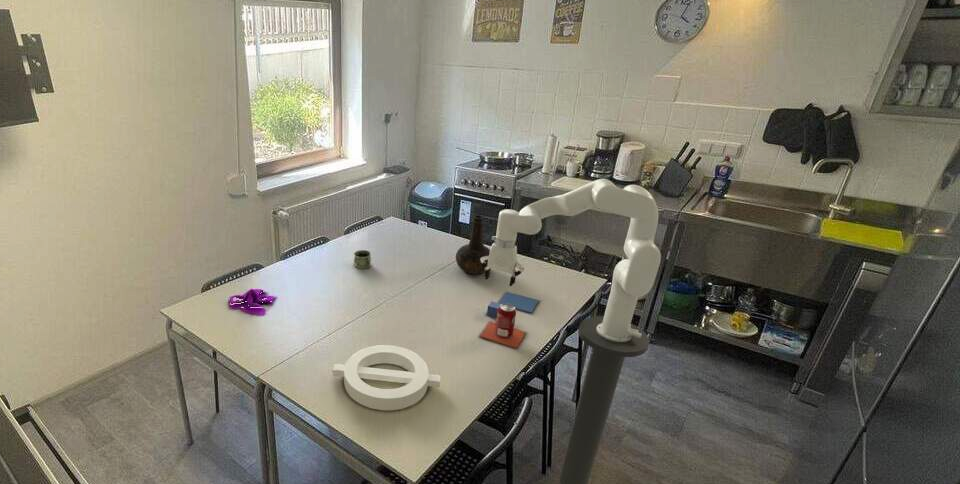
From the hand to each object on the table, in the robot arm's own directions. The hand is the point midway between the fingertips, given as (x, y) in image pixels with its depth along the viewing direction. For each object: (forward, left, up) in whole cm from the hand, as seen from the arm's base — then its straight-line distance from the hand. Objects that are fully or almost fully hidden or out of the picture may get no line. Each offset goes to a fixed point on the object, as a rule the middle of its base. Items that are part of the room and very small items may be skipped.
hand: (499, 281), depth 194 cm
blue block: (+1, -2, -16) cm, 17 cm away
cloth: (+92, +44, -17) cm, 103 cm away
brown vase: (+23, -37, -17) cm, 46 cm away
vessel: (+72, -13, -17) cm, 75 cm away
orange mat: (-7, +11, -16) cm, 21 cm away
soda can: (-7, +11, -16) cm, 21 cm away
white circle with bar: (+18, +59, -17) cm, 64 cm away
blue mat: (-5, -17, -16) cm, 24 cm away
